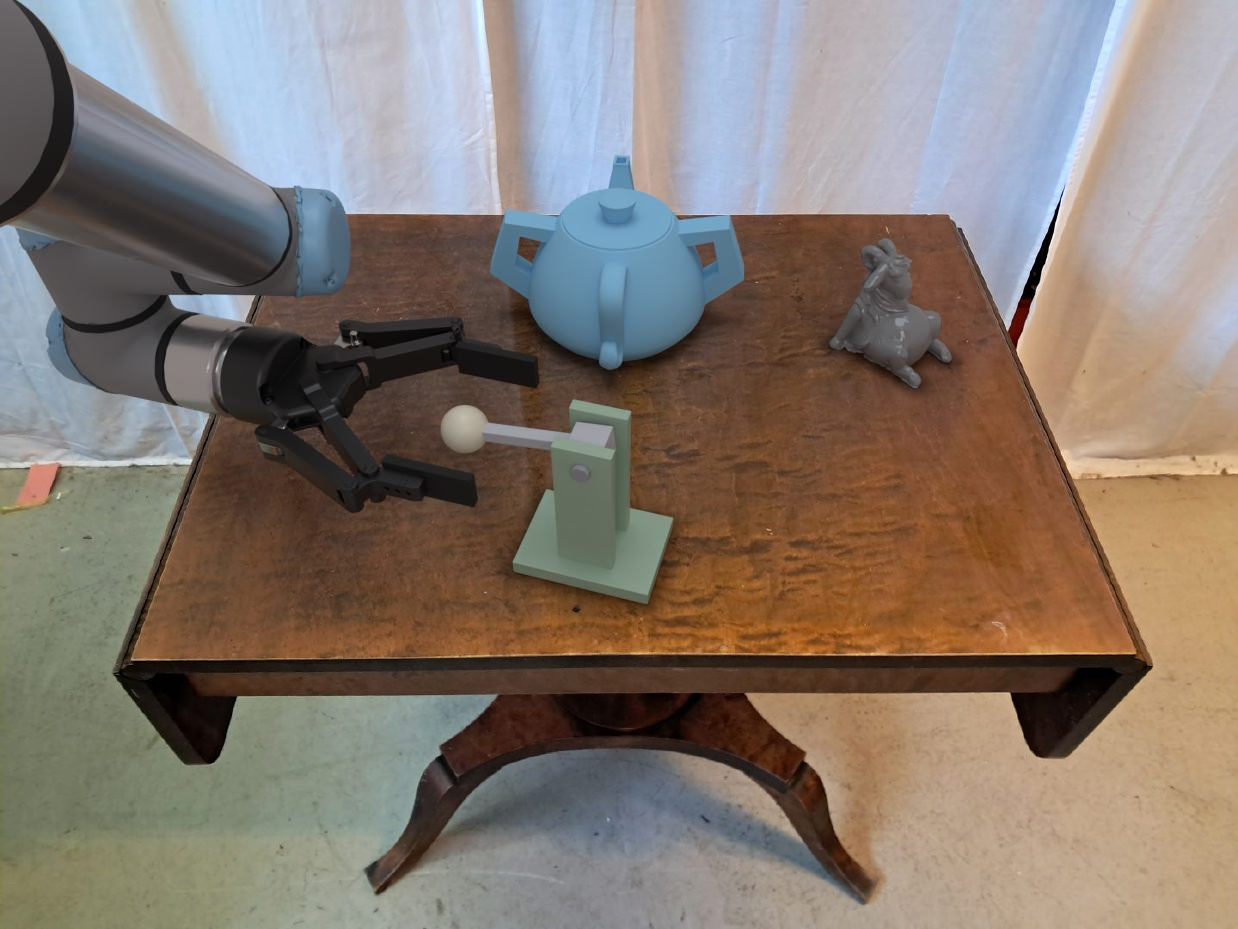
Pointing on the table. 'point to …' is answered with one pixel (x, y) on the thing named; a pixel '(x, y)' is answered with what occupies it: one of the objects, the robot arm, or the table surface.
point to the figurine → (890, 317)
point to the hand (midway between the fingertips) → (507, 428)
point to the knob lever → (512, 432)
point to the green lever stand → (594, 517)
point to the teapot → (617, 270)
